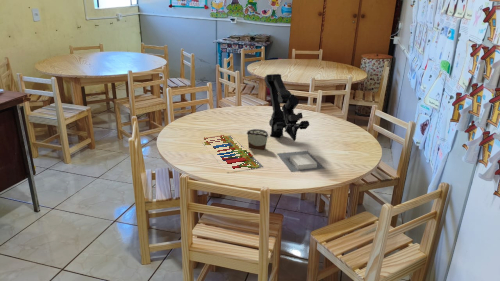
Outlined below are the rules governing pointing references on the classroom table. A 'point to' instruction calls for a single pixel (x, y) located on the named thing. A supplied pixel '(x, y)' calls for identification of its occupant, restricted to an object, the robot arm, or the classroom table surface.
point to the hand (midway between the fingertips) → (294, 140)
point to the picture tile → (303, 161)
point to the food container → (257, 139)
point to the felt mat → (286, 159)
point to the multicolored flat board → (242, 158)
